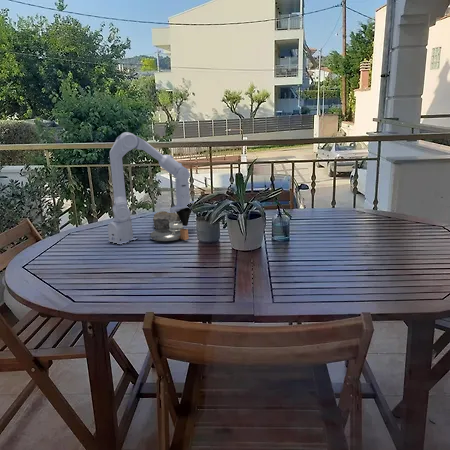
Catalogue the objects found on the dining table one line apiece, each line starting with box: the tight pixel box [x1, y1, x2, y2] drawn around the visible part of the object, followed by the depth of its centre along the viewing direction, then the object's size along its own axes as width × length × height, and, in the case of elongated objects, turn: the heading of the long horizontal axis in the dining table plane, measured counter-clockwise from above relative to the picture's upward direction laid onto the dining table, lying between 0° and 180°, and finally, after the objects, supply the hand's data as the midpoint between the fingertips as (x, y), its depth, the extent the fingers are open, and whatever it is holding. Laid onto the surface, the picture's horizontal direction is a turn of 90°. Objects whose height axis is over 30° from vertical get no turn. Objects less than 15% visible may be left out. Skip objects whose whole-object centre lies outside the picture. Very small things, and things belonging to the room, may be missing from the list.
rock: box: [152, 210, 181, 230], centre depth 184 cm, size 13×6×15 cm
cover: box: [169, 220, 184, 232], centre depth 169 cm, size 6×6×3 cm
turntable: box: [150, 227, 190, 242], centre depth 165 cm, size 15×18×4 cm
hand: (184, 225), depth 174 cm, fingers closed
